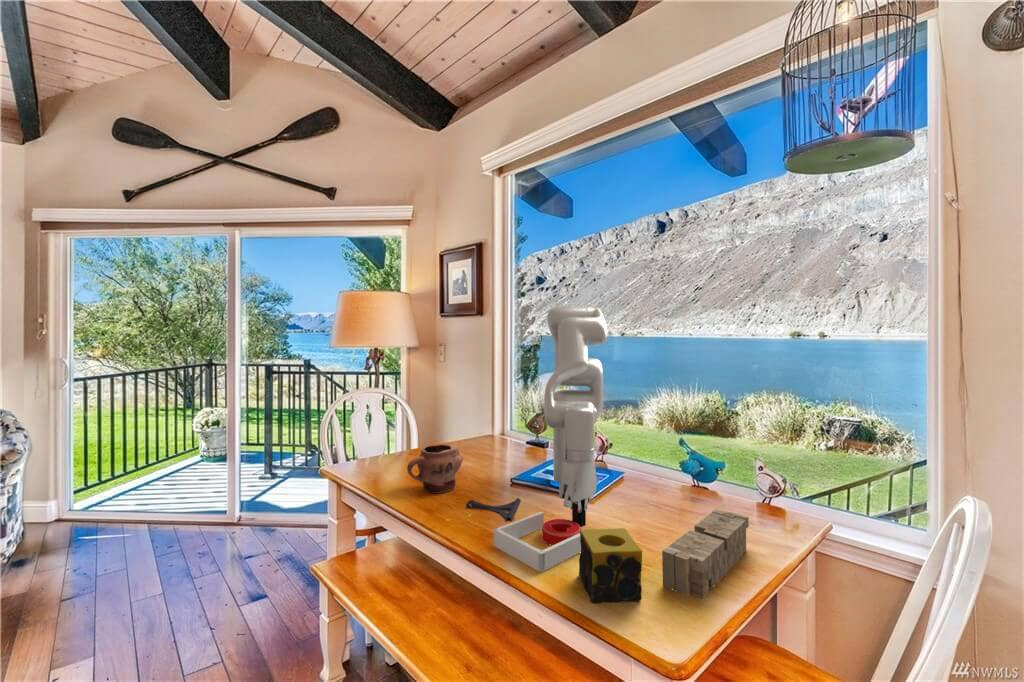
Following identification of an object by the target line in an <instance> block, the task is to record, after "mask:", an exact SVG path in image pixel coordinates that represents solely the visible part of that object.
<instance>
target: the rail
mask: <svg viewBox="0 0 1024 682" xmlns="http://www.w3.org/2000/svg"><path fill="white" fill-rule="evenodd" d="M544 515H545V514H544V512H543V511H539V512H536V513H533V514H531V515H528V516H526V517H522V518H521V519H517V520H515V521H511V522H510V523H508V524H504V525H502V526H500V527H497V528H496V527H495V528H494V529H493V547H495V548H497V549H498V550H500V551H502V552H504V553H506V554H507V555H510V556H511V557H513V558H515V559H516V560H517V561H520V562H522V563H524V564H525V565H528V566H529V567H531V568H532V569H535V570H536V571H538V572H539V573H541V572H542V573H543V571H544V572H545V570H546V571H547V569H548V570H550V569H552V568H553V566H554V565H555V566H557V565H559V564H561V563H563V562H565V561H567V560H569V559H571V558H573V557H575V556H577V555H579V554H580V552H581V543H580V533H579V534H577V535H575V536H572V537H570V538H568V539H566V540H564V541H562V542H559V543H557V544H555V545H553V546H552V545H550V546H549V547H546V548H545V549H542V550H541V549H539V548H537V547H535V546H534V545H531V544H530V543H527V542H525V541H524V540H521V538H523V537H525V536H528V535H530V534H533V533H535V532H537V531H540V530H542V526H543V524H544V523H545V522H544V521H545V520H544V517H545V516H544ZM539 529H540V530H539ZM532 532H533V533H532ZM578 553H579V554H578ZM576 554H577V555H576ZM574 555H575V556H574ZM572 556H573V557H572ZM570 557H571V558H570ZM568 558H569V559H568ZM566 559H567V560H566ZM564 560H565V561H564ZM562 561H563V562H562ZM560 562H561V563H560ZM558 563H559V564H558ZM556 564H557V565H556ZM555 566H554V567H555ZM551 567H552V568H551ZM549 568H550V569H549Z"/></svg>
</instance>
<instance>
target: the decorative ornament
mask: <svg viewBox="0 0 1024 682" xmlns="http://www.w3.org/2000/svg"><path fill="white" fill-rule="evenodd" d="M580 530H582V527H580V525H579V524H578V523H576V522H574V521H572V519H565V518H555V519H554V518H553V519H550V520H547V521H545V522H544V524H543V526H542V529H541V535H542V536H541V539H542V538H543V539H542V541H543V540H544V541H545V542H546V544H547V543H548V544H547V545H549V544H551V545H550V546H552V545H555V544H557V543H559V542H562V541H564V540H566V539H568V538H570V537H572V536H575V535H577V534H579V533H580ZM544 541H543V542H544Z"/></svg>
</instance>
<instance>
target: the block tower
mask: <svg viewBox="0 0 1024 682" xmlns="http://www.w3.org/2000/svg"><path fill="white" fill-rule="evenodd" d="M749 521H750V519H749V516H748V515H743V514H740V513H735V512H732V511H727V510H723V509H719V508H715V509H713V510H712V511H711V512H710V513H709V514H708V515H707V516H706V517H704V518H703V519H701V520H700V521H699V522H698V523H696V524H695V525H694V530H693V529H689V530H688V531H687V532H685V533H684V534H683V535H682V536H680V537H678V538H677V539H675V541H673V542H672V543H670V545H668V546H667V547H666V548H663V549H662V551H661V552H662V553H661V558H662V559H661V561H662V562H661V563H662V564H661V565H662V587H663V586H665V587H664V588H666V587H667V588H666V589H668V588H670V589H669V590H671V589H673V590H676V591H677V592H676V591H675V592H676V593H678V592H680V593H682V594H681V595H683V594H685V595H689V594H690V595H691V593H693V594H692V595H694V594H696V595H699V596H701V597H704V596H705V595H706V594H707V593H708V592H710V590H709V589H710V588H712V589H714V587H715V586H714V585H716V584H717V585H718V583H719V582H720V581H721V580H722V579H723V576H724V575H725V574H726V573H727V572H728V571H729V570H730V571H731V569H732V568H733V567H734V566H735V565H736V564H737V563H736V562H738V561H739V560H740V559H741V558H742V557H743V556H742V555H744V554H745V553H746V552H747V529H748V528H750V527H749V526H750V525H749V524H750V523H749ZM745 551H746V552H745ZM744 552H745V553H744ZM743 553H744V554H743ZM741 556H742V557H741ZM740 557H741V558H740ZM739 558H740V559H739ZM735 563H736V564H735ZM733 565H734V566H733ZM732 566H733V567H732ZM731 567H732V568H731ZM730 568H731V569H730ZM730 571H729V572H730ZM729 572H728V573H729ZM728 573H727V574H728ZM727 574H726V575H727ZM726 575H725V576H726ZM725 576H724V577H725ZM721 578H722V579H721ZM720 579H721V580H720ZM718 581H719V582H718ZM717 582H718V583H717ZM717 585H716V586H717ZM713 586H714V587H713ZM709 587H710V588H709ZM673 590H672V591H673ZM680 593H679V594H680ZM708 594H709V593H708ZM708 594H707V595H708ZM685 595H684V596H685ZM690 595H689V596H690ZM696 595H695V596H696ZM707 595H706V596H707ZM699 596H698V597H699ZM706 596H705V597H706ZM701 597H700V598H701ZM705 597H704V598H705Z"/></svg>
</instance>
